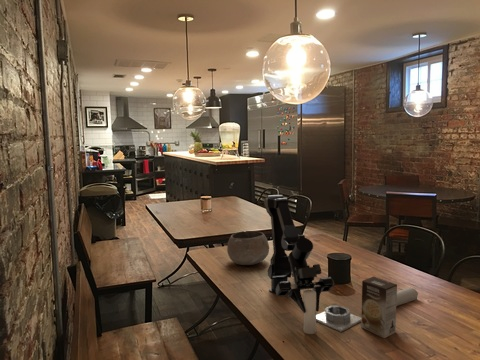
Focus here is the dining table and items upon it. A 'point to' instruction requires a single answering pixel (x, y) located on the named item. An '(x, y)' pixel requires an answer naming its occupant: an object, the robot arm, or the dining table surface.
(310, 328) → the beige cylinder
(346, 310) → the square plate with nut
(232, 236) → the clay pot
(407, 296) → the tube
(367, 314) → the coffee box
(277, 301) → the dining table surface
